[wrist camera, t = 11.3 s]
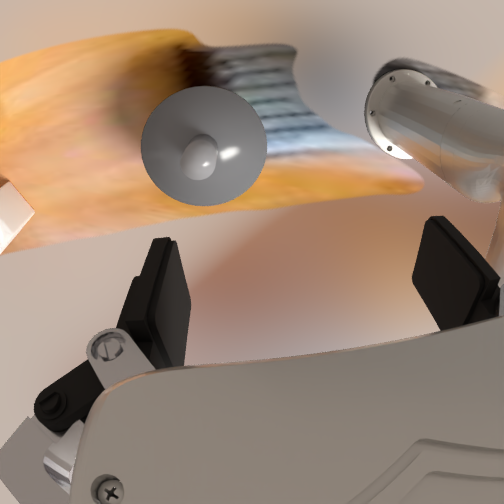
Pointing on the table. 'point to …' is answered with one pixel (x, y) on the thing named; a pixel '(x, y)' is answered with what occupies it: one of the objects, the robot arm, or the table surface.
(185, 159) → the lid
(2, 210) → the medicine bottle
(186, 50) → the table surface
